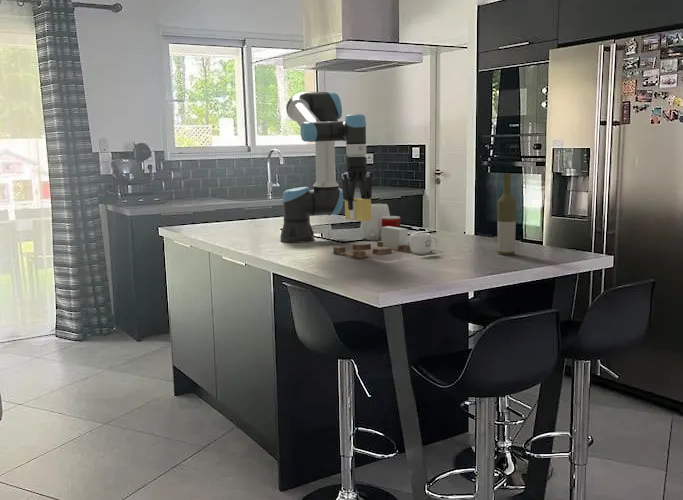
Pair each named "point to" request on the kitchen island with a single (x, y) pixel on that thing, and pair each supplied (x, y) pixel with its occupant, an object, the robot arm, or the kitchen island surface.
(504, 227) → the bottle
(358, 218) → the ochre bar
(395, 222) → the canned food
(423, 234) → the mug
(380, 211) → the vase
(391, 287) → the kitchen island surface
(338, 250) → the comb rack
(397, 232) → the grey bar
